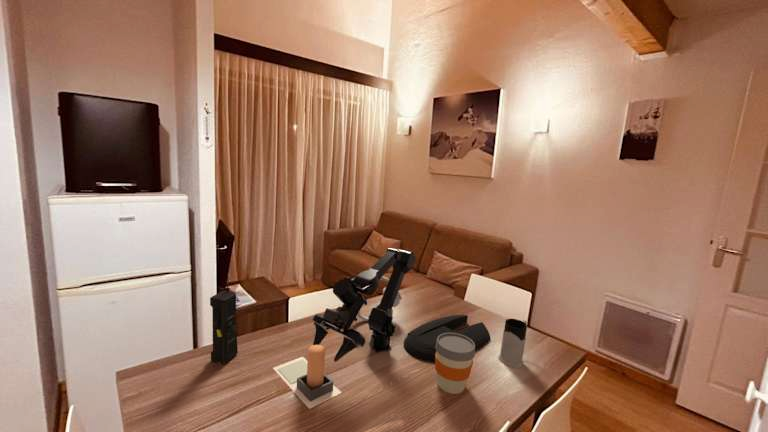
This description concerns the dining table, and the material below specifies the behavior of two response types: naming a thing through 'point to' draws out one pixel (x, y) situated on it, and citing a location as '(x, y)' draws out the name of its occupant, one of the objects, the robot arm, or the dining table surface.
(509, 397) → the dining table surface
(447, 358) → the reusable coffee cup
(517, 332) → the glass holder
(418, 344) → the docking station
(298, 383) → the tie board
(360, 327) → the dining table surface
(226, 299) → the portable radio
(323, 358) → the tall peach cylinder
